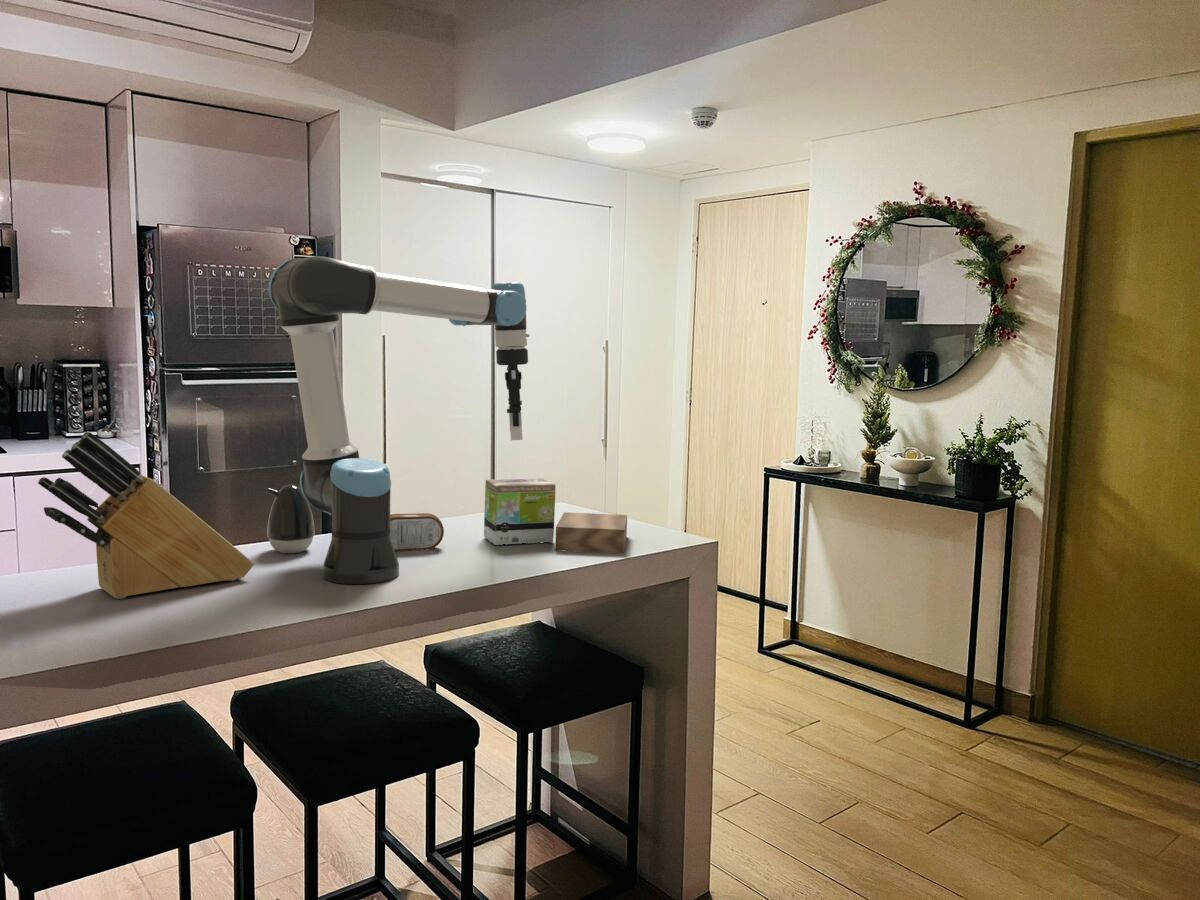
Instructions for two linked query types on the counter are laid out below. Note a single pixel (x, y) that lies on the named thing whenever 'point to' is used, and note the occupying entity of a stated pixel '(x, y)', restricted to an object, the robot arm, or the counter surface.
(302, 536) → the pump dispenser
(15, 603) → the counter surface
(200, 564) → the knife block
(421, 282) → the robot arm
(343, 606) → the counter surface
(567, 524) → the walnut block
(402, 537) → the tin
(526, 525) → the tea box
